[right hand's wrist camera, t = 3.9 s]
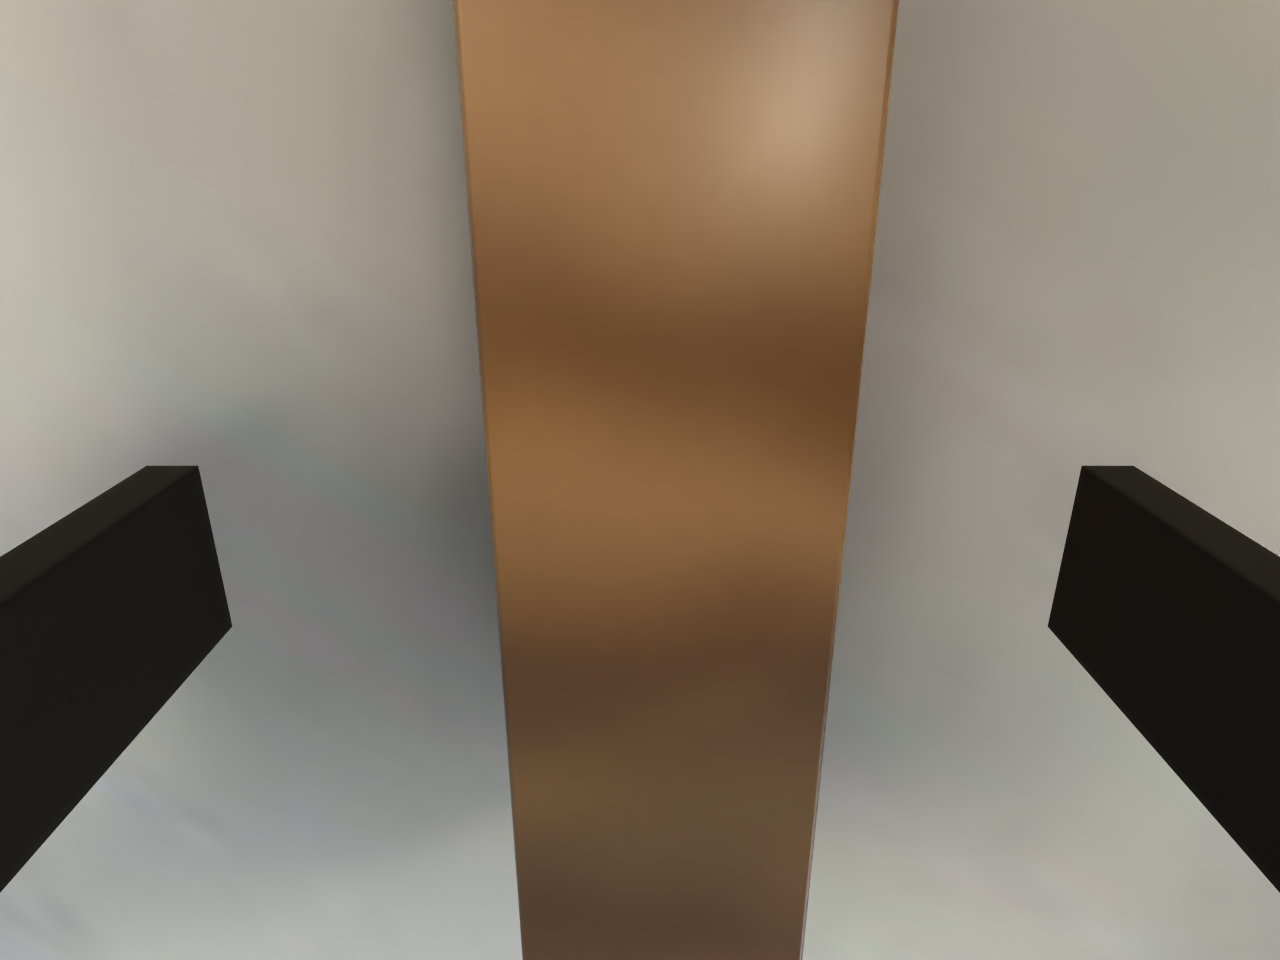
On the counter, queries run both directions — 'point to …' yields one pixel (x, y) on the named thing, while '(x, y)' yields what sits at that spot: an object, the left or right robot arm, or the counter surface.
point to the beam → (669, 443)
